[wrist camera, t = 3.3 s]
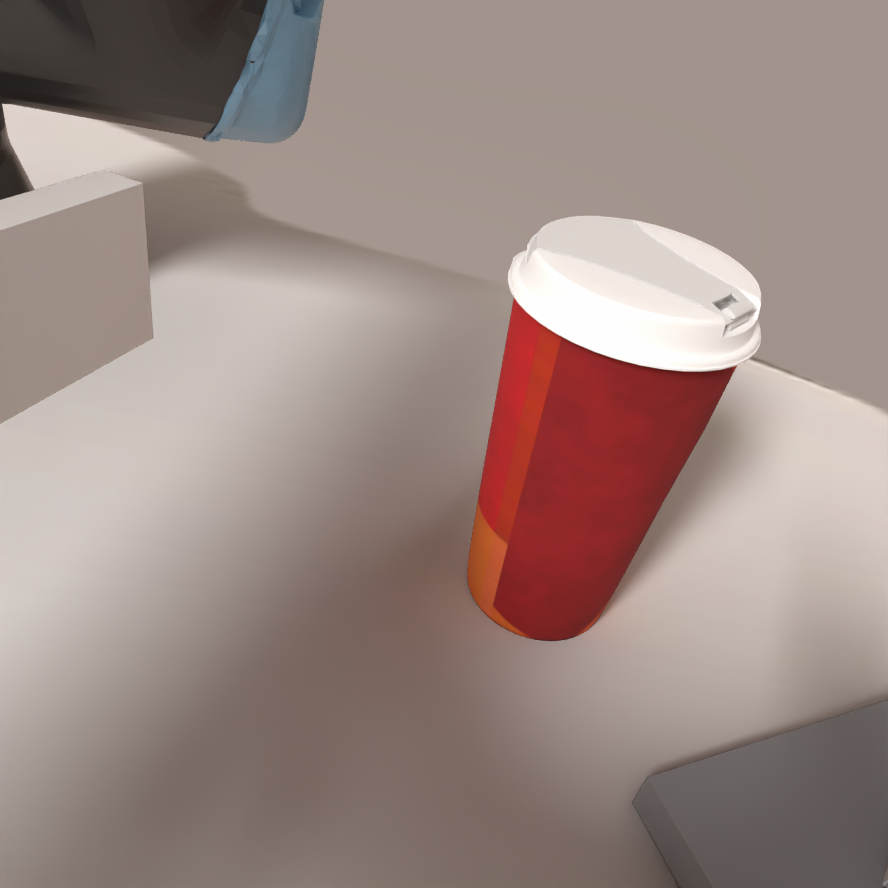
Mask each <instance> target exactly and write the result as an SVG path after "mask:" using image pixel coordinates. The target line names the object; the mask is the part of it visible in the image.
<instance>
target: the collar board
mask: <svg viewBox="0 0 888 888" xmlns="http://www.w3.org/2000/svg"><path fill="white" fill-rule="evenodd" d="M632 803H633V805H634V807H635V808H636V810H637V812H638V814H639V816H640V817H641V819H642V821H643V823H644V824H645V826H646V828H647V830H648V832H649V833H650V835H651V837H652V839H653V840H654V842H655V844H656V846H657V847H658V849H659V851H660V853H661V855H662V856H663V858H664V860H665V862H666V863H667V865H668V867H669V869H670V871H671V872H672V874H673V876H674V878H675V879H676V881H677V883H678V885H679V887H680V888H888V700H886V701H883V702H879V703H876V704H873V705H870V706H867V707H864V708H861V709H858V710H855V711H851V712H848V713H845V714H842V715H839V716H836V717H833V718H830V719H827V720H823V721H820V722H817V723H814V724H811V725H808V726H805V727H802V728H799V729H795V730H792V731H789V732H786V733H783V734H780V735H777V736H774V737H771V738H767V739H764V740H761V741H758V742H755V743H752V744H749V745H746V746H743V747H739V748H736V749H733V750H730V751H727V752H724V753H721V754H718V755H715V756H712V757H708V758H705V759H702V760H699V761H696V762H693V763H690V764H687V765H684V766H680V767H677V768H674V769H671V770H668V771H665V772H662V773H659V774H656V775H652V776H649V777H647V779H646V780H645V782H644V784H643V785H642V787H641V788H640V790H639V792H638V793H637V795H636V797H635V798H634V800H633V802H632Z"/></svg>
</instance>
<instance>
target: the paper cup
mask: <svg viewBox="0 0 888 888" xmlns="http://www.w3.org/2000/svg"><path fill="white" fill-rule="evenodd" d="M508 285H509V288H510V291H511V293H512V295H513V296H514V300H513V306H512V312H511V317H510V323H509V328H508V334H507V340H506V345H505V351H504V356H503V362H502V368H501V373H500V379H499V384H498V390H497V395H496V401H495V407H494V412H493V418H492V423H491V429H490V434H489V440H488V446H487V451H486V457H485V463H484V469H483V474H482V480H481V486H480V491H479V497H478V503H477V509H476V515H475V521H474V527H473V533H472V539H471V546H470V552H469V560H468V570H467V578H468V585H469V589H470V592H471V594H472V596H473V598H474V600H475V602H476V603H477V605H478V606H479V607H480V609H481V610H482V611H483V612H484V613H485V614H486V615H487V616H488V617H489V618H490V619H491V620H493V621H494V622H495V623H497V624H498V625H500V626H501V627H503V628H505V629H507V630H508V631H510V632H513V633H515V634H517V635H520V636H523V637H526V638H530V639H535V640H542V641H559V640H565V639H570V638H573V637H576V636H578V635H580V634H582V633H584V632H585V631H587V630H588V629H589V628H590V627H591V626H592V625H593V624H594V623H595V622H596V620H597V619H598V618H599V616H600V615H601V613H602V612H603V610H604V608H605V607H606V605H607V603H608V602H609V600H610V598H611V596H612V595H613V593H614V591H615V589H616V588H617V586H618V584H619V582H620V580H621V579H622V577H623V575H624V573H625V571H626V570H627V568H628V566H629V564H630V562H631V560H632V559H633V557H634V555H635V553H636V551H637V550H638V548H639V546H640V544H641V542H642V540H643V538H644V537H645V535H646V533H647V531H648V529H649V527H650V526H651V524H652V522H653V520H654V518H655V516H656V514H657V513H658V511H659V509H660V507H661V505H662V503H663V501H664V500H665V498H666V496H667V494H668V493H669V491H670V489H671V487H672V486H673V484H674V482H675V480H676V479H677V477H678V475H679V473H680V471H681V470H682V468H683V466H684V464H685V463H686V461H687V459H688V457H689V456H690V454H691V452H692V450H693V449H694V447H695V445H696V443H697V442H698V440H699V438H700V436H701V435H702V433H703V431H704V429H705V427H706V425H707V423H708V421H709V419H710V418H711V416H712V414H713V412H714V410H715V408H716V406H717V404H718V402H719V400H720V398H721V396H722V394H723V392H724V390H725V388H726V386H727V384H728V382H729V380H730V378H731V376H732V374H733V372H734V371H735V369H736V367H737V365H739V364H741V363H743V362H745V361H747V360H748V359H749V358H751V357H752V356H753V355H754V354H755V353H756V351H757V349H758V347H759V346H760V341H761V334H760V333H761V330H760V325H759V321H758V319H757V318H758V314H759V311H760V307H761V299H762V297H761V291H760V287H759V285H758V283H757V282H756V280H755V278H754V277H753V276H752V275H751V274H750V272H749V271H748V270H747V269H745V268H744V267H743V266H742V265H741V264H740V263H738V262H737V261H736V260H734V259H733V258H731V257H730V256H728V255H727V254H725V253H723V252H722V251H720V250H718V249H716V248H715V247H712V246H710V245H708V244H706V243H704V242H702V241H700V240H697V239H695V238H693V237H690V236H688V235H685V234H682V233H679V232H677V231H674V230H671V229H667V228H664V227H661V226H658V225H653V224H650V223H645V222H641V221H637V220H631V219H623V218H614V217H604V216H573V217H567V218H562V219H558V220H555V221H553V222H550V223H548V224H546V225H545V226H543V227H542V228H541V229H540V230H539V232H538V233H536V234H534V235H533V237H532V238H531V239H530V241H529V243H528V244H527V250H525V251H522V252H521V253H519V254H517V255H516V256H514V257H513V261H512V264H511V267H510V269H509V272H508Z"/></svg>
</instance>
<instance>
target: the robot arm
mask: <svg viewBox="0 0 888 888" xmlns="http://www.w3.org/2000/svg"><path fill="white" fill-rule="evenodd" d="M323 4H324V0H0V424H1V423H2V422H4V421H6V420H8V419H10V418H11V417H13V416H15V415H17V414H19V413H20V412H22V411H24V410H26V409H27V408H29V407H31V406H33V405H35V404H36V403H38V402H40V401H42V400H43V399H45V398H47V397H49V396H51V395H52V394H54V393H56V392H58V391H60V390H61V389H63V388H65V387H67V386H68V385H70V384H72V383H74V382H76V381H77V380H79V379H81V378H83V377H84V376H86V375H88V374H90V373H92V372H93V371H95V370H97V369H99V368H101V367H102V366H104V365H106V364H108V363H109V362H111V361H113V360H115V359H117V358H118V357H120V356H122V355H124V354H125V353H127V352H129V351H131V350H133V349H134V348H136V347H138V346H140V345H142V344H143V343H145V342H147V341H149V340H150V339H152V338H153V325H152V310H151V295H150V281H149V266H148V251H147V236H146V221H145V206H144V192H143V183H141V182H138V181H135V180H132V179H129V178H126V177H124V176H121V175H118V174H115V173H112V172H109V171H106V170H101V171H97V172H94V173H90V174H87V175H84V176H80V177H77V178H74V179H70V180H67V181H63V182H60V183H57V184H53V185H50V186H46V187H43V188H40V189H36V190H34V188H33V186H32V184H31V182H30V180H29V178H28V176H27V174H26V172H25V170H24V168H23V167H22V165H21V163H20V161H19V159H18V157H17V155H16V153H15V151H14V149H13V147H12V145H11V144H10V141H9V138H8V134H7V129H6V125H5V119H4V113H3V107H2V103H3V104H13V105H18V106H24V107H30V108H35V109H41V110H46V111H52V112H58V113H63V114H69V115H74V116H80V117H86V118H91V119H97V120H103V121H108V122H114V123H120V124H125V125H131V126H136V127H142V128H148V129H153V130H159V131H164V132H170V133H175V134H182V135H187V136H193V137H198V138H203V139H204V140H205V141H209V142H215V141H219V140H220V139H230V140H240V141H250V142H261V143H277V142H281V141H284V140H286V139H287V138H289V137H291V136H292V135H293V134H294V133H295V132H296V131H297V130H298V128H299V127H300V125H301V123H302V121H303V119H304V116H305V112H306V107H307V101H308V95H309V90H310V84H311V77H312V71H313V66H314V59H315V53H316V48H317V41H318V35H319V28H320V23H321V17H322V11H323Z"/></svg>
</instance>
